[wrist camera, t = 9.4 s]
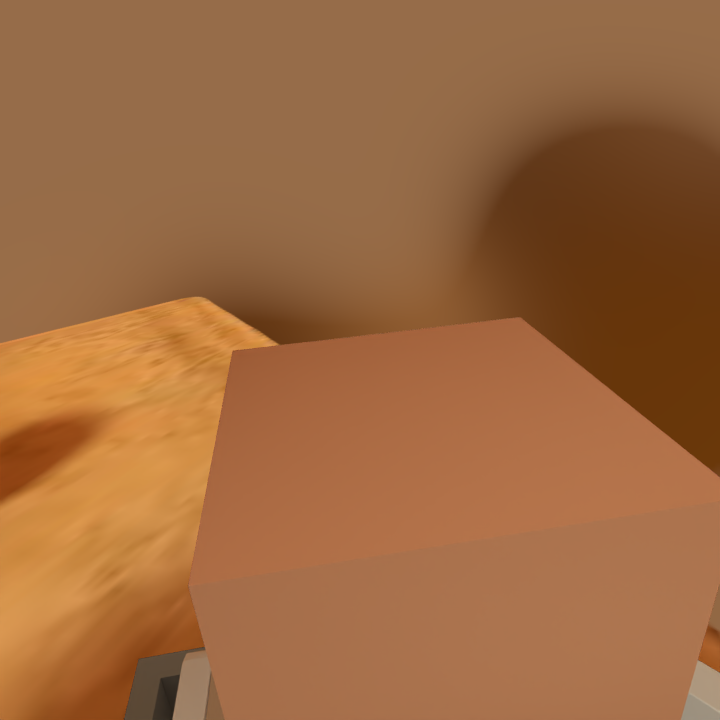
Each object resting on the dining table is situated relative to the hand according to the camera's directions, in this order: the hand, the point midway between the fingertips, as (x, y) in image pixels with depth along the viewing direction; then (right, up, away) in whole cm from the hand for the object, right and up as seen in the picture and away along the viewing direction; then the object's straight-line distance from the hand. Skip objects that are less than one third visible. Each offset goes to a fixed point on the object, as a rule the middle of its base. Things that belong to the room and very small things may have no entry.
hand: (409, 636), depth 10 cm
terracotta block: (+1, -6, +2) cm, 7 cm away
